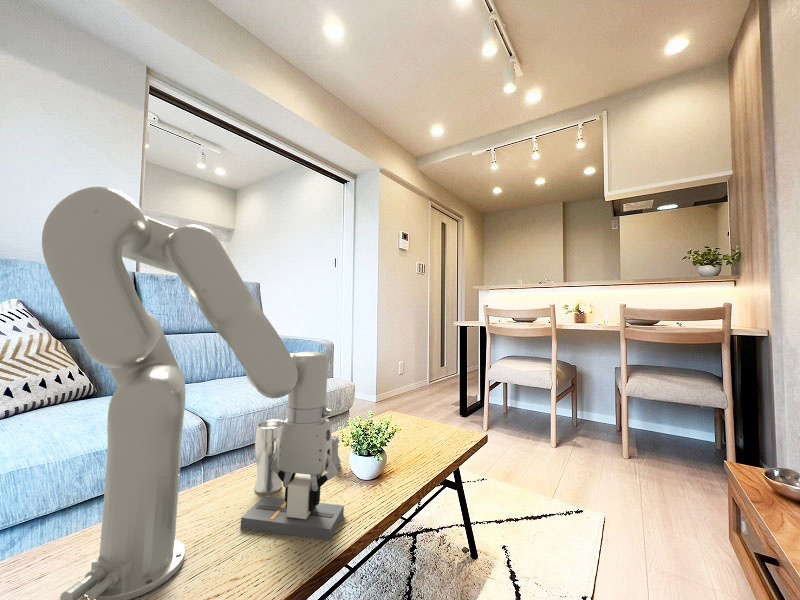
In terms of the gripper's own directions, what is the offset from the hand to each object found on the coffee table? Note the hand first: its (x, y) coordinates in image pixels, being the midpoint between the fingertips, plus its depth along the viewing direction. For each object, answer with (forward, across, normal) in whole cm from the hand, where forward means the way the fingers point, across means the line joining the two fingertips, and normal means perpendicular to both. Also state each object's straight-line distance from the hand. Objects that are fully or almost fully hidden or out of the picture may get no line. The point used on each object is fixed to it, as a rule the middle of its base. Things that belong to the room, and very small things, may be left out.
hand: (302, 505), depth 67 cm
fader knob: (+1, 0, 0) cm, 1 cm away
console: (+3, +2, 0) cm, 4 cm away
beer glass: (+3, +14, -11) cm, 18 cm away
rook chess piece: (+3, +3, -25) cm, 25 cm away
